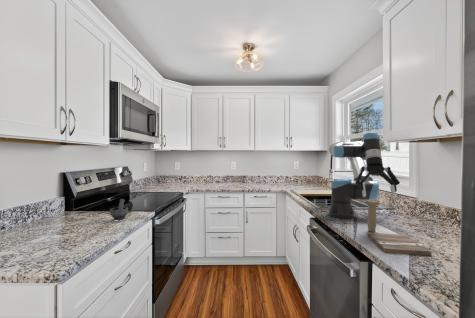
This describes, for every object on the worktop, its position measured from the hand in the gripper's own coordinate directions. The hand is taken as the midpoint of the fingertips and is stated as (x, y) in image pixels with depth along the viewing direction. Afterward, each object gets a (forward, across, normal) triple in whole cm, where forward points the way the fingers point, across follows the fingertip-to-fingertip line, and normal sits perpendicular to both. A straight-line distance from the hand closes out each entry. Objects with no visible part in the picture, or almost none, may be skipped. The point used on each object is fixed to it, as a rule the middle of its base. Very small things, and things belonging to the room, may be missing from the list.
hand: (379, 197), depth 120 cm
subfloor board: (+23, 0, -11) cm, 26 cm away
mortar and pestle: (+21, -145, +5) cm, 146 cm away
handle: (+16, -4, +6) cm, 17 cm away
